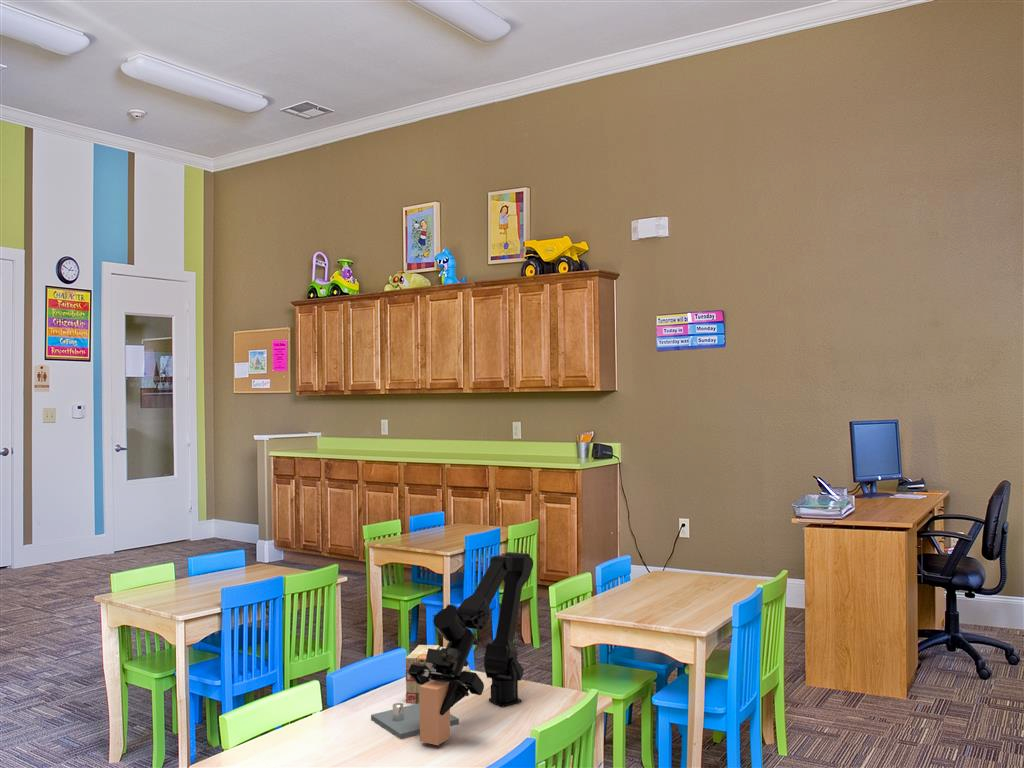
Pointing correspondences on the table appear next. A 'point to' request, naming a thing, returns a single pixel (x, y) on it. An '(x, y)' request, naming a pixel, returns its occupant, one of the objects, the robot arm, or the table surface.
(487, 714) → the table surface
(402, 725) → the slate board
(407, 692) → the stack of blocks
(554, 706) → the table surface
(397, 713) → the steel post
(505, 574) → the robot arm
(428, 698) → the tall peach square pillar
